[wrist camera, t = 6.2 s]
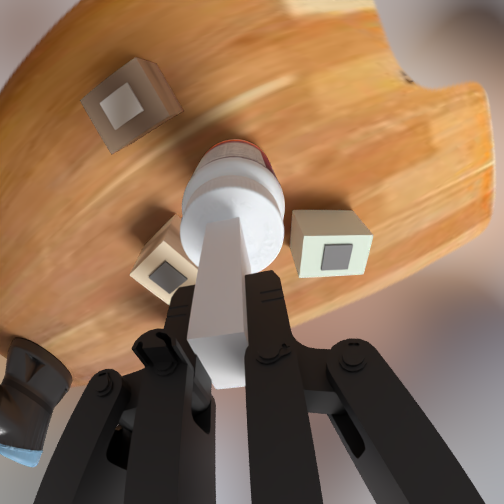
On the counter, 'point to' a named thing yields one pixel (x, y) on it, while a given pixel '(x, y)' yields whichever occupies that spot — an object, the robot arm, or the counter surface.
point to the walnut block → (130, 103)
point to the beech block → (165, 263)
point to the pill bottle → (235, 201)
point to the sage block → (329, 243)
